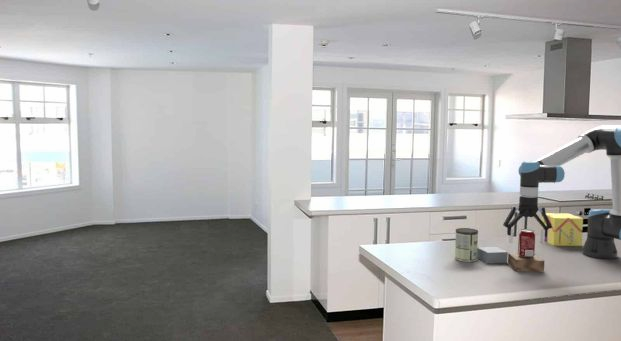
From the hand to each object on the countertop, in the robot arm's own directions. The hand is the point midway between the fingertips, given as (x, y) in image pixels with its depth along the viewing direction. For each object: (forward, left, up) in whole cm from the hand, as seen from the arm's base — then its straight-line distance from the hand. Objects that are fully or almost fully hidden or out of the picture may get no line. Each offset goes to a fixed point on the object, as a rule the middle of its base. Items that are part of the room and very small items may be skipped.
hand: (526, 243), depth 221 cm
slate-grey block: (+12, -11, -11) cm, 20 cm away
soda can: (0, 0, -6) cm, 6 cm away
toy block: (-35, -55, -12) cm, 66 cm away
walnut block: (0, 0, -11) cm, 11 cm away
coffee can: (+24, -11, -11) cm, 29 cm away
